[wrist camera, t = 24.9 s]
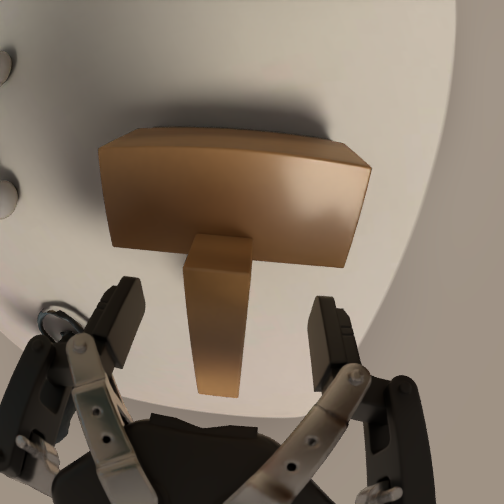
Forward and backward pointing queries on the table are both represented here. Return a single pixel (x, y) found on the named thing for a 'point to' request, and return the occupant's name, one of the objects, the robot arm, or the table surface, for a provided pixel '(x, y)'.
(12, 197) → the molecular model
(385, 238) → the table surface
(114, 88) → the table surface
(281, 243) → the brush
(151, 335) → the table surface
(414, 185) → the table surface
